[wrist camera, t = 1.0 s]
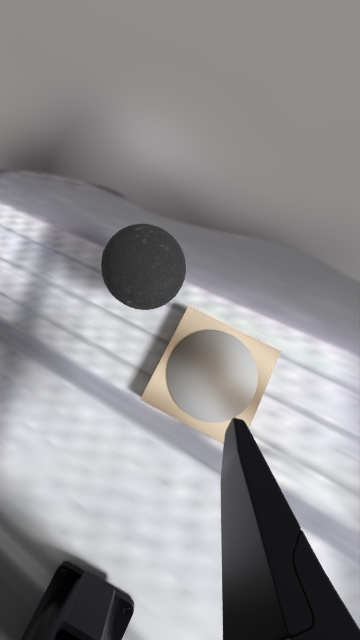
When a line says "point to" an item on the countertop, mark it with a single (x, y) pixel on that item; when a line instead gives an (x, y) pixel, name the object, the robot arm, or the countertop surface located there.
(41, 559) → the countertop surface
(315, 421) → the countertop surface
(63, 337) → the countertop surface
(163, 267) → the light bulb
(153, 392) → the plinth
